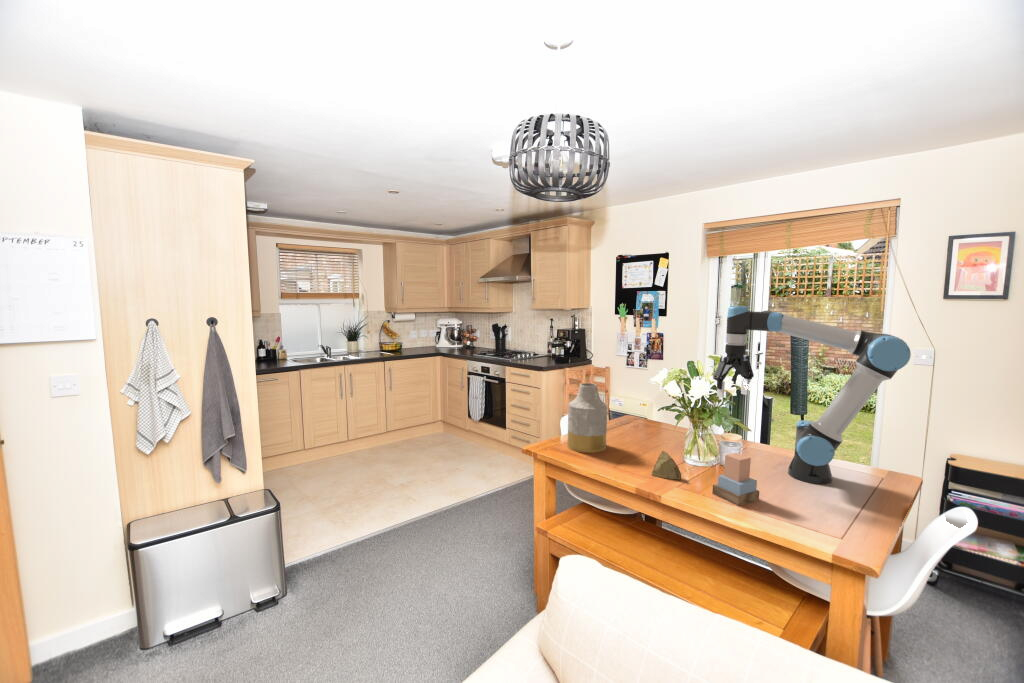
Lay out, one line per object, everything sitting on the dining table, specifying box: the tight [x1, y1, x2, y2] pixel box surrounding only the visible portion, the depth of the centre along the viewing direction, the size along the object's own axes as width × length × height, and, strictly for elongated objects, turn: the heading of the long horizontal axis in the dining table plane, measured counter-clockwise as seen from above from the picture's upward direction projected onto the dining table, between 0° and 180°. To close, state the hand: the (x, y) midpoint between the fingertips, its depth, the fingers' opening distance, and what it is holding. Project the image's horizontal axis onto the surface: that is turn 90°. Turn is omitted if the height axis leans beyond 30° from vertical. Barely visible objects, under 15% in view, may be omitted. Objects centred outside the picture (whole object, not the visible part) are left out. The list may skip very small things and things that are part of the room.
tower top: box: [717, 473, 758, 496], centre depth 170 cm, size 9×9×4 cm
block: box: [723, 452, 752, 482], centre depth 169 cm, size 6×6×8 cm
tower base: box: [711, 483, 760, 507], centre depth 171 cm, size 11×11×4 cm
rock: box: [650, 450, 682, 480], centre depth 188 cm, size 11×9×10 cm
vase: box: [567, 382, 608, 454], centre depth 223 cm, size 18×18×30 cm
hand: (732, 395), depth 190 cm, fingers open, 13 cm apart
